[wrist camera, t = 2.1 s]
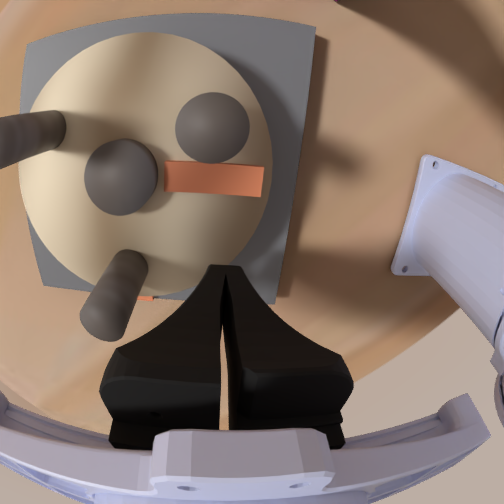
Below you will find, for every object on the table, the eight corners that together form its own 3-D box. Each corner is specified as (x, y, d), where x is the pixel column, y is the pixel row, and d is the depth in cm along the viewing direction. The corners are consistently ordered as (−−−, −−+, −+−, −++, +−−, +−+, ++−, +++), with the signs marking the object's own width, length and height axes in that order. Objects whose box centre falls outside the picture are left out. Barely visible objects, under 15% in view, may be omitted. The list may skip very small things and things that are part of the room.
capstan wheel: (281, 46, 10) (320, 3, 5) (252, 284, 15) (263, 366, 10) (39, 61, 8) (-36, 57, 3) (52, 270, 14) (6, 331, 9)
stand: (310, 32, 10) (317, 25, 9) (272, 294, 17) (275, 307, 16) (36, 45, 9) (24, 43, 7) (50, 277, 15) (41, 288, 14)
